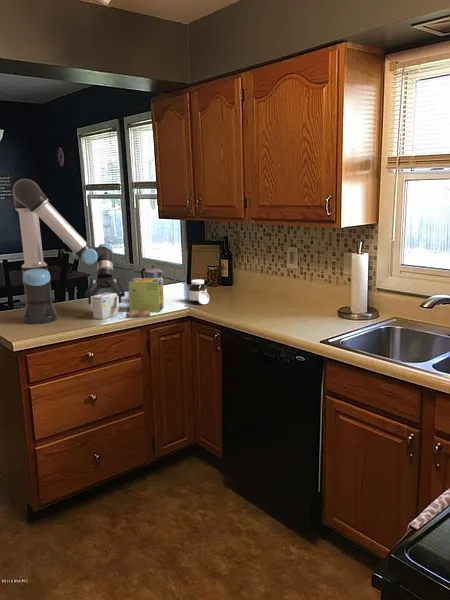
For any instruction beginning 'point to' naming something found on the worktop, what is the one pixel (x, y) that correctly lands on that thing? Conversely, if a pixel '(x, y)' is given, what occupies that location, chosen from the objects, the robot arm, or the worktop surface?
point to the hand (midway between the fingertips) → (104, 308)
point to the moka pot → (152, 273)
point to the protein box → (146, 294)
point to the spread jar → (198, 292)
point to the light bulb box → (104, 305)
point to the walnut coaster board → (139, 313)
